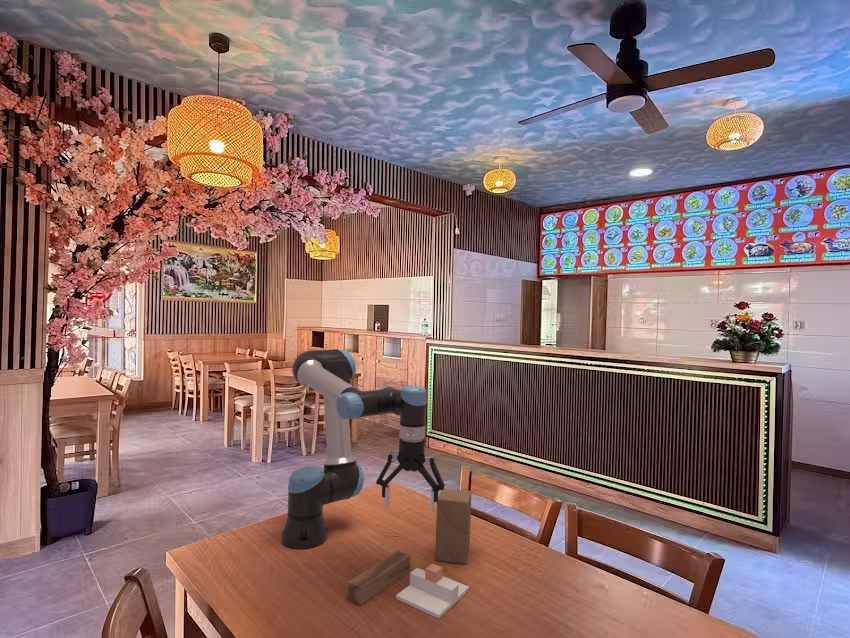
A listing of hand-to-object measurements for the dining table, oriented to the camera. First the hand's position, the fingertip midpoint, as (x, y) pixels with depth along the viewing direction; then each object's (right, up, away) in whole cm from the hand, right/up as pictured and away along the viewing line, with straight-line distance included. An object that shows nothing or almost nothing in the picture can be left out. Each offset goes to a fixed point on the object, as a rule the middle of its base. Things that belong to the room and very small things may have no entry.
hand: (409, 510), depth 142 cm
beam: (-8, -20, -3) cm, 22 cm away
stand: (+7, -21, -8) cm, 23 cm away
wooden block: (+14, -21, +14) cm, 29 cm away
